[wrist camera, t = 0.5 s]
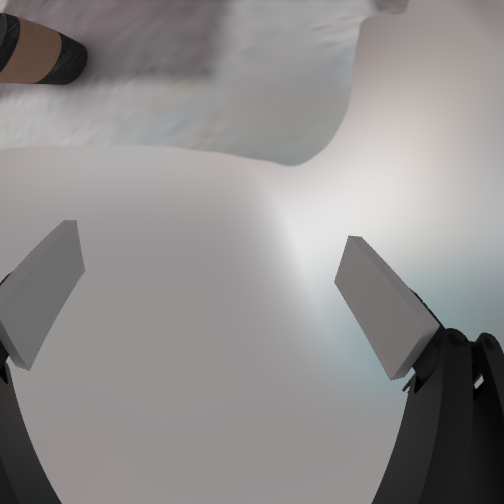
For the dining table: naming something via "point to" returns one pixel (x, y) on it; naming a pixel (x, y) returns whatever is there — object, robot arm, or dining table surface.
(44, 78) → the travel mug
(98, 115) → the dining table surface
